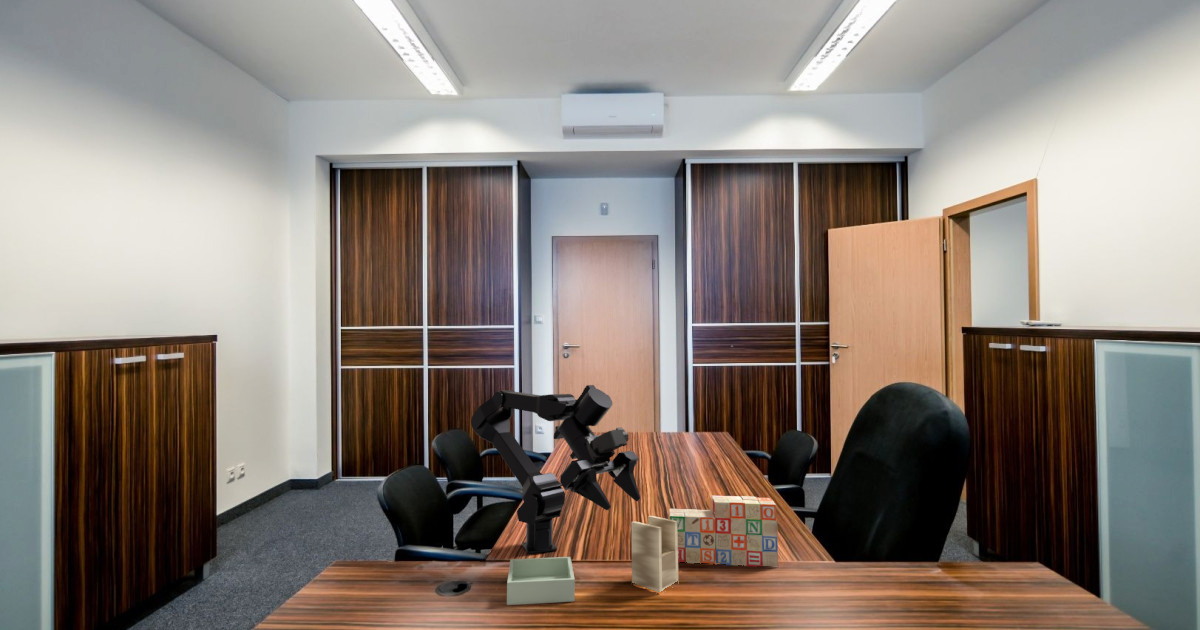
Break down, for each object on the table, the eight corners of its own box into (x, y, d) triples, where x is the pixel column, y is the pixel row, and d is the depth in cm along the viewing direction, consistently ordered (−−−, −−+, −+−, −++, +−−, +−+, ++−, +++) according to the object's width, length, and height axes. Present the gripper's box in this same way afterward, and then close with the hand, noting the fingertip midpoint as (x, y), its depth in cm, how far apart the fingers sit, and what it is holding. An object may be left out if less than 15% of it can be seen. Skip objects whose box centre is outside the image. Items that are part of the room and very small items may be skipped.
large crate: (510, 579, 96) (510, 559, 97) (570, 576, 98) (570, 556, 98) (506, 605, 85) (507, 582, 86) (574, 601, 87) (574, 579, 87)
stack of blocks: (669, 563, 105) (668, 500, 106) (669, 553, 111) (668, 493, 112) (779, 568, 102) (776, 503, 103) (773, 557, 108) (770, 496, 110)
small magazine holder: (632, 585, 93) (631, 522, 95) (651, 575, 98) (650, 515, 99) (659, 594, 89) (658, 528, 91) (678, 584, 94) (677, 521, 95)
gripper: (570, 417, 98) (616, 485, 90) (630, 412, 112) (675, 470, 104) (542, 456, 102) (583, 524, 94) (603, 446, 116) (644, 505, 108)
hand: (624, 504), depth 100 cm, fingers open, 9 cm apart
